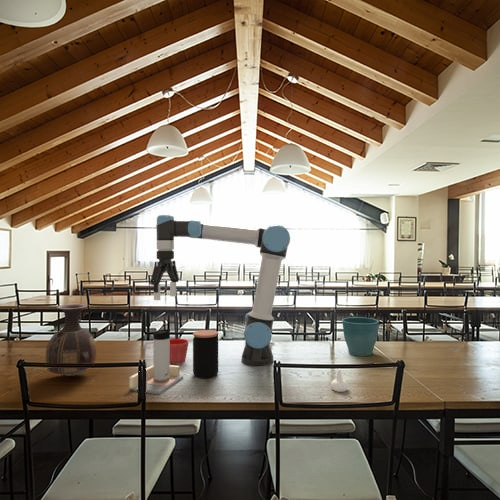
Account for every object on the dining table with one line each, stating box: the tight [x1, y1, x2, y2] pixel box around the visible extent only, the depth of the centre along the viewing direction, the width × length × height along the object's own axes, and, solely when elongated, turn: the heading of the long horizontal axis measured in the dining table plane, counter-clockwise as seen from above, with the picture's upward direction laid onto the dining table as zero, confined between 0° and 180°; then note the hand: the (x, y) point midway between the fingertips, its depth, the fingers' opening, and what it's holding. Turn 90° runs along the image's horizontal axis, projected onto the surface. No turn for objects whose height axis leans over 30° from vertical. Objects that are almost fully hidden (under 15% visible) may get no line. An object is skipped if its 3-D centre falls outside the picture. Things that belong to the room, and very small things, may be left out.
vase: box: [44, 303, 97, 377], centre depth 159 cm, size 23×19×30 cm
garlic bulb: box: [330, 368, 349, 393], centre depth 145 cm, size 6×6×8 cm
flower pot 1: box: [169, 338, 190, 365], centre depth 180 cm, size 11×11×10 cm
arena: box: [129, 364, 184, 395], centre depth 151 cm, size 13×18×5 cm
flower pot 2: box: [341, 316, 380, 357], centre depth 195 cm, size 18×18×17 cm
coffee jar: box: [192, 329, 219, 380], centre depth 162 cm, size 11×11×18 cm
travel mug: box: [152, 328, 171, 383], centre depth 152 cm, size 6×7×20 cm
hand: (165, 298), depth 169 cm, fingers open, 13 cm apart
